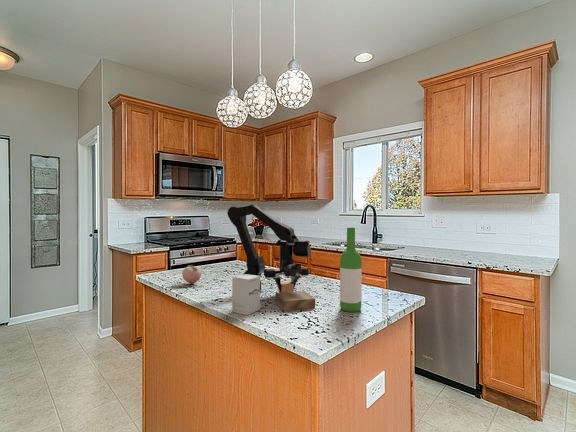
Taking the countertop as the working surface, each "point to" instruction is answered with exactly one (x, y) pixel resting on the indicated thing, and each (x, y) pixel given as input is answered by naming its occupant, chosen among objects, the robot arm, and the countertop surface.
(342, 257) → the wine bottle
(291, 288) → the terracotta cube
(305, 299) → the walnut block
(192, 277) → the decorative fruit
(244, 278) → the supplement box
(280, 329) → the countertop surface
